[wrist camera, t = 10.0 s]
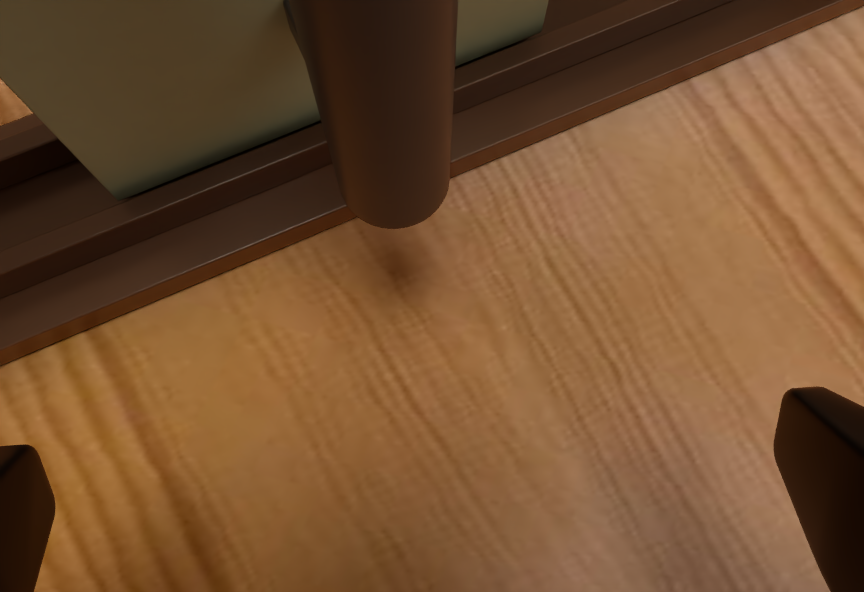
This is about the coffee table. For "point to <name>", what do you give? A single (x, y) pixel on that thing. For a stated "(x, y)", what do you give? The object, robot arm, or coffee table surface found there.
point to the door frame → (312, 165)
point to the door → (257, 85)
